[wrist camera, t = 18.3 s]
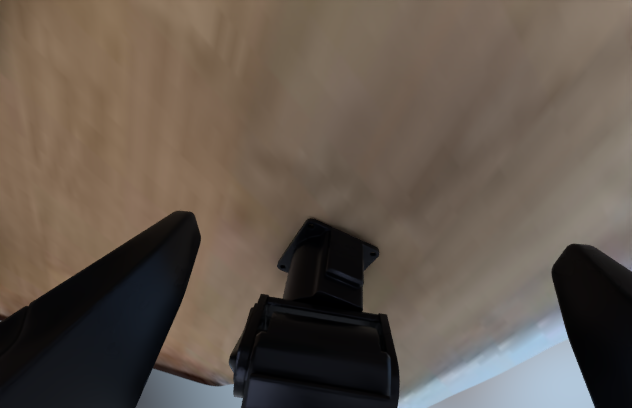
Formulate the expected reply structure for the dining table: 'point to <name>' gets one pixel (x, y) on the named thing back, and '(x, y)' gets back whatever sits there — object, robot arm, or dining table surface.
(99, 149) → the dining table surface
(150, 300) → the robot arm
